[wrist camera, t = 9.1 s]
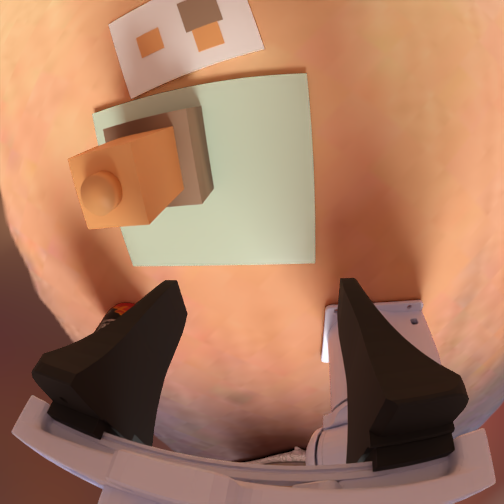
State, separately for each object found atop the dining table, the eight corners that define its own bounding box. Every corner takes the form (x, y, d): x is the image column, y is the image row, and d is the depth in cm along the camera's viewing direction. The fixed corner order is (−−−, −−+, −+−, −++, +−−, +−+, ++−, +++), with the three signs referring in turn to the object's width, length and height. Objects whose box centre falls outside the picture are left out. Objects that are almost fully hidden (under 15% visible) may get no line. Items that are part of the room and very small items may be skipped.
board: (306, 73, 16) (306, 73, 15) (314, 260, 23) (315, 263, 22) (95, 113, 18) (92, 114, 18) (135, 263, 25) (133, 266, 25)
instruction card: (234, -31, 12) (233, -33, 11) (264, 49, 15) (264, 48, 15) (109, 24, 14) (107, 24, 14) (132, 98, 18) (130, 99, 17)
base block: (201, 105, 17) (186, 108, 15) (214, 188, 20) (202, 204, 18) (125, 122, 18) (102, 129, 16) (141, 196, 21) (122, 211, 19)
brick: (173, 126, 15) (120, 146, 10) (184, 189, 17) (142, 232, 12) (117, 138, 16) (57, 163, 11) (130, 195, 18) (80, 236, 13)
